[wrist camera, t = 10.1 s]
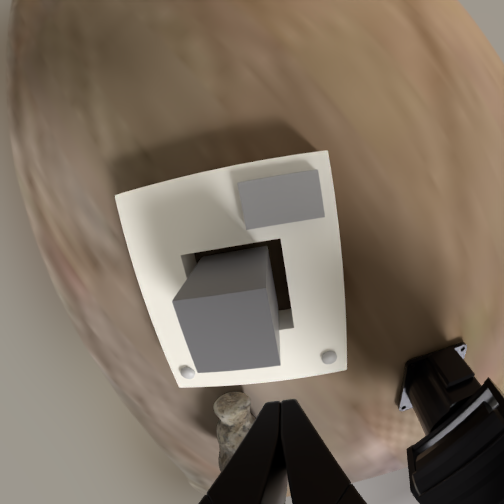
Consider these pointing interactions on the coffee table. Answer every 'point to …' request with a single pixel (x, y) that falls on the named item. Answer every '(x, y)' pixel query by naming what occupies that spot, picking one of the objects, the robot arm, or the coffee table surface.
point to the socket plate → (238, 233)
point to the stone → (232, 423)
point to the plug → (230, 312)
